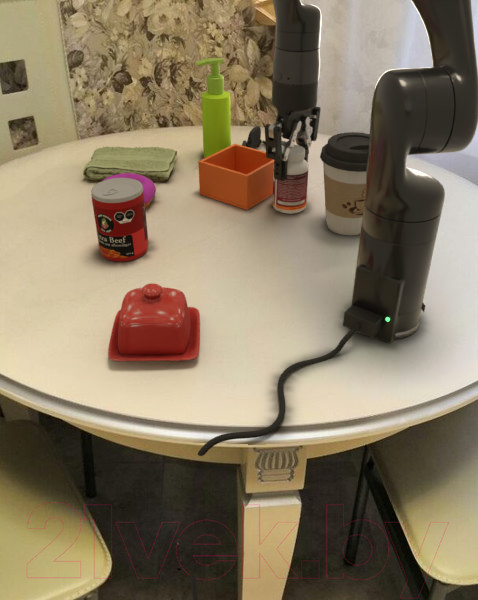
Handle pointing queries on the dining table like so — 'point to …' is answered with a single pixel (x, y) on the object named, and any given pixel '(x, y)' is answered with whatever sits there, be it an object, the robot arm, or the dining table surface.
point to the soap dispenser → (215, 110)
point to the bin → (237, 176)
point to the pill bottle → (292, 183)
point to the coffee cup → (345, 181)
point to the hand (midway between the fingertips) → (290, 172)
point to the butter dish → (155, 326)
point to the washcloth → (131, 162)
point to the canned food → (120, 218)
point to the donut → (147, 184)
